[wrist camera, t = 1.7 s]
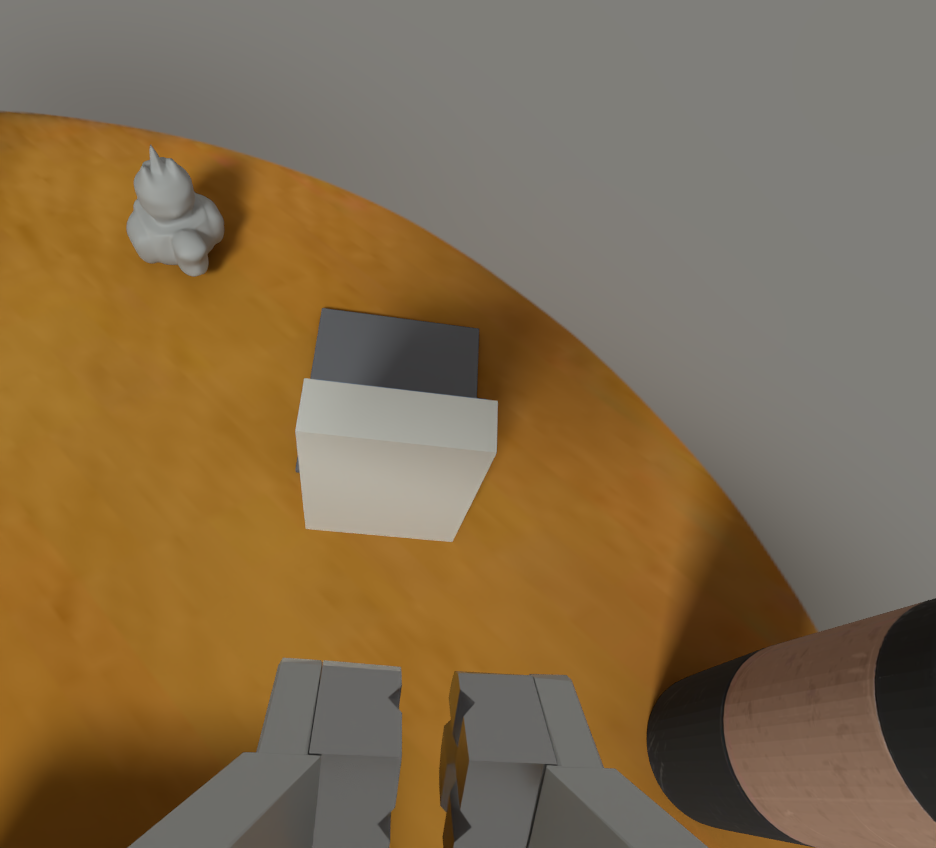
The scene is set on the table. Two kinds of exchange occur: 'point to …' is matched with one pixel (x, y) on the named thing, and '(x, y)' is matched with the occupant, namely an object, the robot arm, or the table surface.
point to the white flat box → (391, 458)
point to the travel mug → (811, 737)
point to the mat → (396, 353)
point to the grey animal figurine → (172, 218)
